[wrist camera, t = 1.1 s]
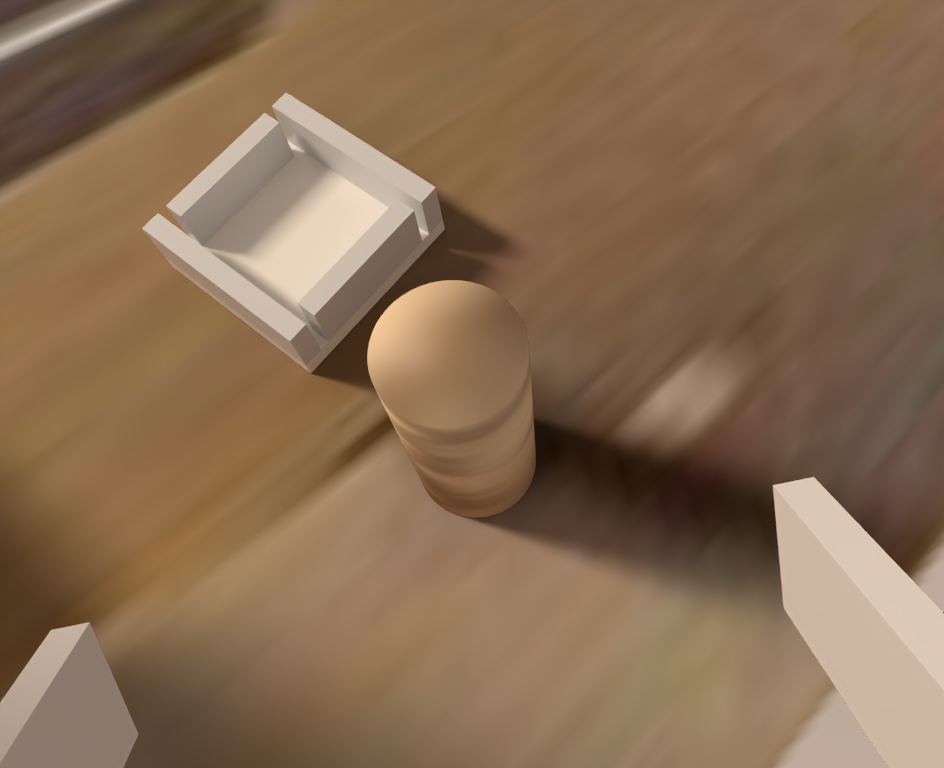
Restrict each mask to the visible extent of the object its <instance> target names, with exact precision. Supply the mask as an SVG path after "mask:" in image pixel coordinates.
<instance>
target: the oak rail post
mask: <svg viewBox="0 0 944 768" xmlns="http://www.w3.org/2000/svg"><path fill="white" fill-rule="evenodd" d="M367 362H368V370H369V374H370V378H371V381H372V383H373V385H374V388H375V390H376V392H377V394H378V396H379V398H380V400H381V402H382V404H383V406H384V408H385V410H386V412H387V414H388V416H389V417H390V419H391V421H392V423H393V425H394V427H395V429H396V431H397V433H398V435H399V437H400V439H401V441H402V443H403V445H404V447H405V449H406V451H407V453H408V455H409V457H410V459H411V461H412V463H413V465H414V467H415V469H416V471H417V473H418V475H419V477H420V479H421V481H422V483H423V485H424V487H425V489H426V490H427V492H428V494H429V495H430V496H431V497H432V499H433V500H434V501H435V502H436V503H437V504H438V505H440V506H441V507H442V508H444V509H445V510H447V511H449V512H451V513H453V514H456V515H459V516H463V517H468V518H484V517H489V516H493V515H496V514H499V513H501V512H503V511H505V510H507V509H509V508H510V507H512V506H513V505H514V504H515V503H517V502H518V501H519V500H520V499H521V498H522V497H523V495H524V494H525V493H526V491H527V490H528V488H529V486H530V484H531V482H532V480H533V477H534V473H535V468H536V450H535V434H534V418H533V402H532V387H531V371H530V355H529V340H528V336H527V331H526V328H525V326H524V323H523V321H522V319H521V317H520V316H519V314H518V312H517V311H516V310H515V308H514V307H513V306H512V305H511V304H510V303H509V302H508V301H507V300H506V299H505V298H504V297H502V296H501V295H500V294H498V293H497V292H495V291H493V290H491V289H490V288H487V287H485V286H483V285H480V284H476V283H473V282H468V281H461V280H445V281H437V282H432V283H428V284H425V285H422V286H419V287H417V288H415V289H413V290H411V291H409V292H407V293H405V294H404V295H402V296H401V297H400V298H398V299H397V300H396V301H394V302H393V303H392V304H391V305H390V306H389V307H388V308H387V309H386V310H385V312H384V313H383V314H382V315H381V317H380V318H379V320H378V322H377V323H376V325H375V327H374V329H373V332H372V334H371V338H370V341H369V346H368V353H367Z"/></svg>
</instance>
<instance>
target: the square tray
mask: <svg viewBox="0 0 944 768" xmlns="http://www.w3.org/2000/svg"><path fill="white" fill-rule="evenodd" d="M272 108H273V110H274V112H275V115H276V117H277V119H278V121H279V122H278V121H276V120H275V119H273V118H271V117H270V116H268V115H267V114H265V113H264V114H263V115H262V116H261V117H260V118H259V119H258V120H257V121H255V122H254V123H253V124H252V125H251V126H250V127H249V128H248V129H247V130H246V131H245V132H244V133H243V134H242V135H241V136H240V137H238V138H237V139H236V140H235V141H234V142H233V143H232V144H231V145H230V146H229V147H228V148H227V149H226V150H225V151H224V152H223V153H221V154H220V155H219V156H218V157H217V158H216V159H215V160H214V161H213V162H212V163H211V164H210V165H209V166H208V167H207V168H206V169H204V170H203V171H202V172H201V173H200V174H199V175H198V176H197V177H196V178H195V179H194V180H193V181H192V182H191V183H190V184H189V185H187V186H186V187H185V188H184V189H183V190H182V191H181V192H180V193H179V194H178V195H177V196H176V197H175V198H174V199H173V200H172V201H171V202H169V203H168V204H167V205H166V207H167V208H168V209H169V211H170V212H171V213H172V215H173V216H174V218H175V219H176V220H177V222H178V223H179V225H180V226H181V227H182V229H183V230H184V231H185V233H186V234H187V235H186V234H185V233H184V232H182V231H181V230H180V229H178V228H177V227H176V226H174V225H173V224H172V223H170V222H169V221H168V220H166V219H165V218H164V217H162V216H161V215H160V214H157V215H156V216H155V217H154V218H152V219H151V220H150V221H149V222H148V223H147V224H146V225H145V226H144V227H143V228H142V229H143V230H144V231H145V233H146V234H147V235H148V236H149V238H150V239H151V240H152V241H153V243H154V244H155V245H156V246H157V248H158V249H159V250H160V251H161V253H162V254H163V255H164V256H165V258H166V259H167V260H168V261H169V263H170V264H171V265H172V266H173V267H174V268H175V269H176V270H178V271H179V272H180V273H181V274H183V275H184V276H185V277H187V278H188V279H189V280H191V281H192V282H193V283H194V284H196V285H197V286H198V287H200V288H201V289H202V290H203V291H205V292H206V293H207V294H209V295H210V296H211V297H213V298H214V299H215V300H216V301H218V302H219V303H220V304H222V305H223V306H224V307H225V308H227V309H228V310H229V311H231V312H232V313H233V314H235V315H236V316H237V317H238V318H240V319H241V320H242V321H244V322H245V323H246V324H247V325H249V326H250V327H251V328H253V329H254V330H255V331H257V332H258V333H259V334H260V335H262V336H263V337H264V338H266V339H267V340H268V341H269V342H271V343H272V344H273V345H275V346H276V347H277V348H279V349H280V350H281V351H282V352H284V353H285V354H286V355H288V356H289V357H290V358H291V359H293V360H294V361H295V362H297V363H298V364H299V365H301V366H302V367H303V368H304V369H306V370H307V371H308V372H310V373H312V372H313V371H314V370H315V369H316V368H317V367H318V366H319V364H320V363H321V362H322V361H323V360H324V359H325V358H326V357H327V356H328V355H329V354H330V353H331V352H332V350H333V349H334V348H335V347H336V346H337V345H338V344H339V343H340V342H341V341H342V340H343V339H344V338H345V336H346V335H347V334H348V333H349V332H350V331H351V330H352V329H353V328H354V327H355V326H356V325H357V323H358V322H359V321H360V320H361V319H362V318H363V317H364V316H365V315H366V314H367V313H368V312H369V311H370V309H371V308H372V307H373V306H374V305H375V304H376V303H377V302H378V301H379V300H380V299H381V298H382V297H383V295H384V294H385V293H386V292H387V291H388V290H389V289H390V288H391V287H392V286H393V285H394V284H395V283H396V281H397V280H398V279H399V278H400V277H401V276H402V275H403V274H404V273H405V272H406V271H407V270H408V269H409V267H410V266H411V265H412V264H413V263H414V262H415V261H416V260H417V259H418V258H419V257H420V256H421V255H422V253H423V252H424V251H425V250H426V249H427V248H428V247H429V246H430V245H431V244H432V243H433V242H434V241H435V239H436V238H437V237H438V236H439V235H440V234H441V233H442V232H443V231H444V230H445V228H444V224H443V219H442V214H441V209H440V205H439V200H438V195H437V191H436V187H434V186H433V185H431V184H430V183H428V182H426V181H425V180H423V179H422V178H420V177H419V176H417V175H415V174H414V173H412V172H411V171H409V170H408V169H406V168H404V167H403V166H401V165H400V164H398V163H396V162H395V161H393V160H392V159H390V158H389V157H387V156H385V155H384V154H382V153H381V152H379V151H378V150H376V149H374V148H373V147H371V146H370V145H368V144H366V143H365V142H363V141H362V140H360V139H359V138H357V137H355V136H354V135H352V134H351V133H349V132H347V131H346V130H344V129H343V128H341V127H340V126H338V125H336V124H335V123H333V122H332V121H330V120H329V119H327V118H325V117H324V116H322V115H321V114H319V113H317V112H316V111H314V110H313V109H311V108H310V107H308V106H306V105H305V104H303V103H302V102H300V101H299V100H297V99H295V98H294V97H292V96H291V95H289V94H287V93H285V94H284V95H283V96H282V97H281V98H280V99H279V100H278V101H277V102H276V103H275V104H274V105H272Z"/></svg>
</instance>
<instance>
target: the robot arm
mask: <svg viewBox="0 0 944 768" xmlns="http://www.w3.org/2000/svg"><path fill="white" fill-rule="evenodd" d="M773 493H774V504H775V516H776V527H777V538H778V550H779V561H780V572H781V584H782V595H783V606H784V609H785V611H786V612H787V614H788V616H789V617H790V619H791V620H792V622H793V623H794V625H795V626H796V628H797V629H798V631H799V632H800V634H801V635H802V637H803V638H804V640H805V641H806V643H807V644H808V646H809V647H810V649H811V650H812V652H813V653H814V655H815V656H816V658H817V660H818V661H819V663H820V664H821V666H822V667H823V669H824V670H825V672H826V673H827V675H828V676H829V678H830V679H831V681H832V682H833V684H834V685H835V687H836V688H837V690H838V691H839V693H840V694H841V696H842V697H843V699H844V700H845V702H846V704H847V705H848V707H849V708H850V709H851V711H852V713H853V714H854V716H855V717H856V718H857V720H858V722H859V723H860V725H861V726H862V728H863V729H864V731H865V732H866V734H867V735H868V737H869V738H870V740H871V741H872V743H873V744H874V746H875V747H876V749H877V750H878V752H879V753H880V755H881V756H882V758H883V760H884V761H885V763H886V764H887V766H888V767H889V768H944V612H942V611H941V610H940V609H939V608H938V607H937V606H936V605H935V604H934V603H933V602H932V601H931V600H930V599H929V597H927V596H926V594H925V593H924V592H923V591H922V590H921V589H920V588H919V587H918V586H917V585H916V584H915V583H914V582H913V581H912V580H911V579H910V578H909V577H908V575H907V574H906V573H905V572H904V571H903V570H902V569H901V568H900V567H899V566H898V565H897V564H896V563H895V562H894V561H893V560H892V559H891V558H890V557H889V556H888V554H887V553H886V552H885V551H884V550H883V549H882V548H881V547H880V546H879V545H878V544H877V543H876V542H875V541H874V540H873V539H872V538H871V537H870V536H869V535H868V533H867V532H866V531H865V530H864V529H863V528H862V527H861V526H860V525H859V524H858V523H857V522H856V521H855V520H854V519H853V518H852V517H851V516H850V515H849V514H848V512H847V511H846V510H845V509H844V508H843V507H842V506H841V505H840V504H839V503H838V502H837V501H836V500H835V499H834V498H833V497H832V496H831V495H830V494H829V493H828V491H827V490H826V489H825V488H824V487H823V486H822V485H821V484H820V483H819V482H818V481H817V480H816V479H815V478H814V477H812V478H807V479H802V480H797V481H792V482H787V483H782V484H777V485H773ZM138 735H139V734H138V732H137V730H136V727H135V725H134V723H133V721H132V718H131V716H130V714H129V711H128V709H127V707H126V704H125V702H124V700H123V697H122V695H121V693H120V691H119V688H118V686H117V684H116V681H115V679H114V677H113V674H112V672H111V670H110V668H109V665H108V663H107V661H106V658H105V656H104V654H103V651H102V649H101V647H100V645H99V642H98V640H97V638H96V635H95V633H94V631H93V628H92V626H91V624H90V622H88V623H83V624H78V625H73V626H68V627H63V628H58V629H53V630H51V631H50V632H49V634H48V635H47V636H46V638H45V639H44V641H43V642H42V644H41V645H40V646H39V648H38V649H37V651H36V652H35V654H34V655H33V656H32V658H31V659H30V661H29V662H28V664H27V665H26V666H25V668H24V669H23V671H22V672H21V674H20V675H19V676H18V678H17V679H16V681H15V682H14V684H13V685H12V686H11V688H10V689H9V691H8V692H7V694H6V695H5V696H4V698H3V699H2V701H1V702H0V768H124V766H125V763H126V761H127V759H128V757H129V754H130V752H131V750H132V748H133V746H134V743H135V741H136V739H137V737H138Z"/></svg>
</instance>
